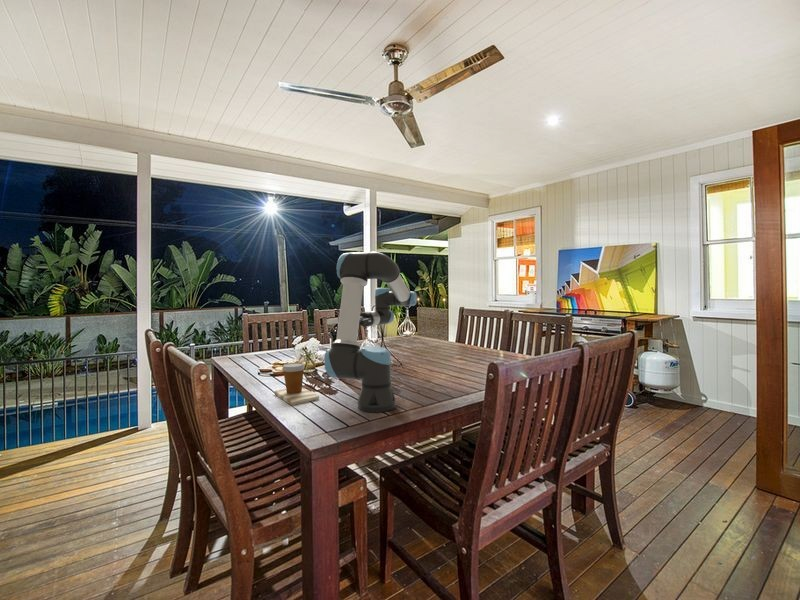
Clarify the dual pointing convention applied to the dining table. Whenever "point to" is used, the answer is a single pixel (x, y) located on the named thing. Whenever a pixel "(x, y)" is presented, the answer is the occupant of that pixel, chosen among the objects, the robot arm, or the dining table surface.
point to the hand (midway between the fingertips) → (336, 322)
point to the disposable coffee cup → (293, 377)
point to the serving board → (297, 396)
